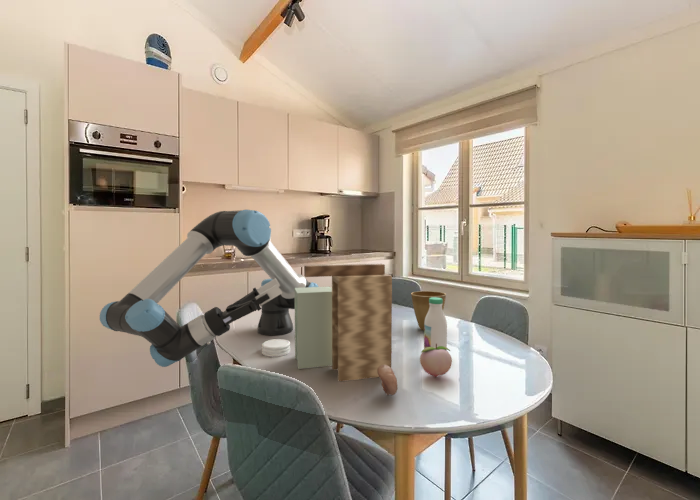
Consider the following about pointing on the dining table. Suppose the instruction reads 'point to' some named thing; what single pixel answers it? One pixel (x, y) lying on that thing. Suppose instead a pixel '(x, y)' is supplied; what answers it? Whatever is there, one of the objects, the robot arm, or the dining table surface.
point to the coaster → (275, 347)
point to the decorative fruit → (436, 360)
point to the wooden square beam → (344, 270)
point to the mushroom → (387, 379)
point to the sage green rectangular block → (313, 327)
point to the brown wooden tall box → (361, 325)
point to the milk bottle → (435, 324)
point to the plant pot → (424, 304)
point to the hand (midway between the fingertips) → (278, 285)
